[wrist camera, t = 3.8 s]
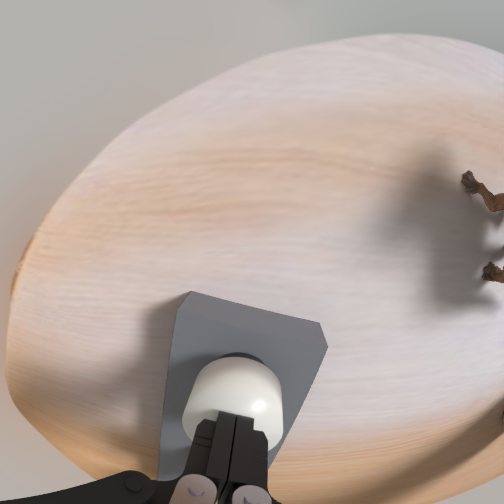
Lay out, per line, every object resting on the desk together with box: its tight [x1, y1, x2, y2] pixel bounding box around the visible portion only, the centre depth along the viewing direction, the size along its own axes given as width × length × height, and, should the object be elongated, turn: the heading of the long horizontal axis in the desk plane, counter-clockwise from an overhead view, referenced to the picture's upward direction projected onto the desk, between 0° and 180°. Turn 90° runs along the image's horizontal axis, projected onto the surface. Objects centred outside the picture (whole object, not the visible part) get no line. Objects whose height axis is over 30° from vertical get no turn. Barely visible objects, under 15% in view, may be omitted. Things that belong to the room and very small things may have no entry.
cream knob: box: [182, 357, 283, 451], centre depth 12 cm, size 4×4×3 cm
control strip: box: [157, 291, 328, 481], centre depth 18 cm, size 22×8×4 cm, turn 166°
